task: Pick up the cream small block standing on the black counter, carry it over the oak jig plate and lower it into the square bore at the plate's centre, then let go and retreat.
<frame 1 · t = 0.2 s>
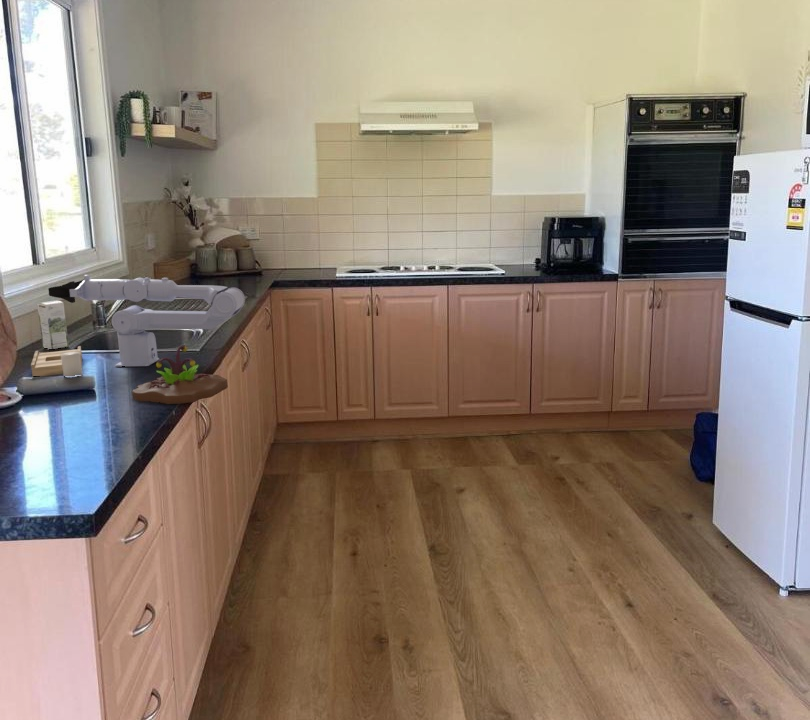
hand: (56, 290, 210), 21 cm above the worktop, tool horizontal, fingers open, 7 cm apart
jig plate: (58, 366, 213), on the worktop
cream small block: (73, 376, 202), on the worktop
plant: (182, 393, 182), on the worktop
syrup box: (56, 348, 240), on the worktop
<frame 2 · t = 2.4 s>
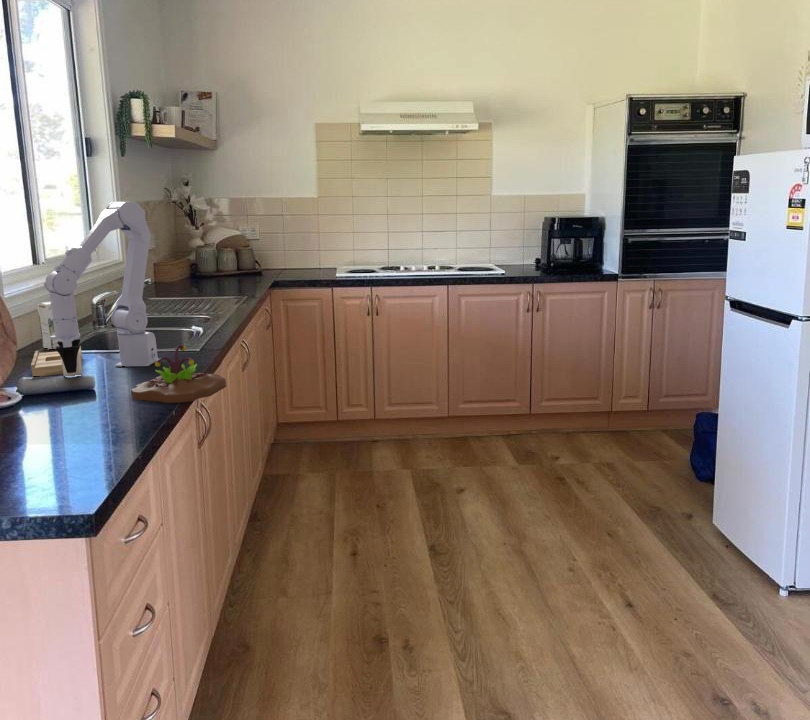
hand: (71, 369, 201), 2 cm above the worktop, tool pointing down, fingers open, 7 cm apart
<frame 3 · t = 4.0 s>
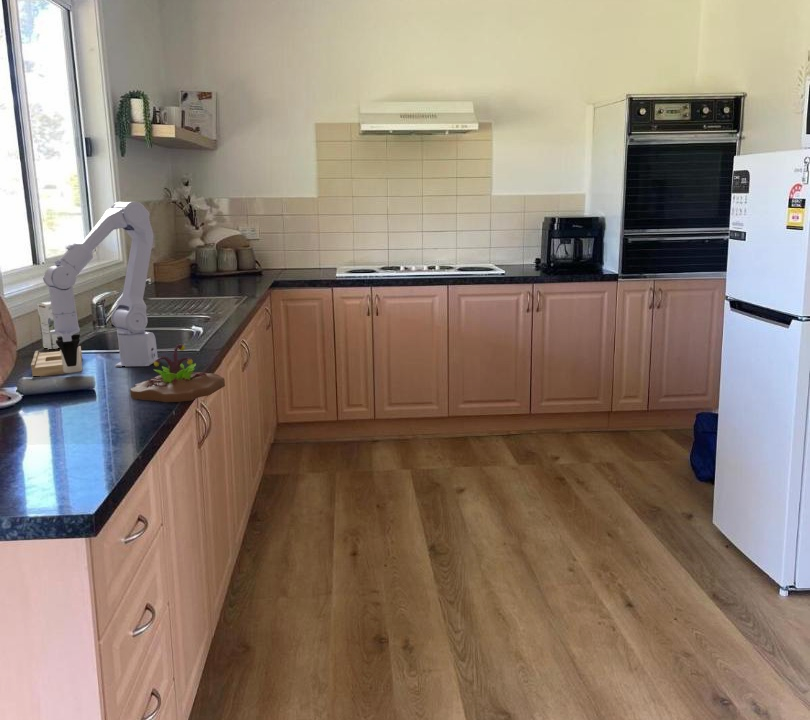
hand: (72, 363, 201), 3 cm above the worktop, tool pointing down, fingers closed on cream small block, 5 cm apart
cream small block: (73, 370, 201), point 1 cm above the worktop, touching gripper
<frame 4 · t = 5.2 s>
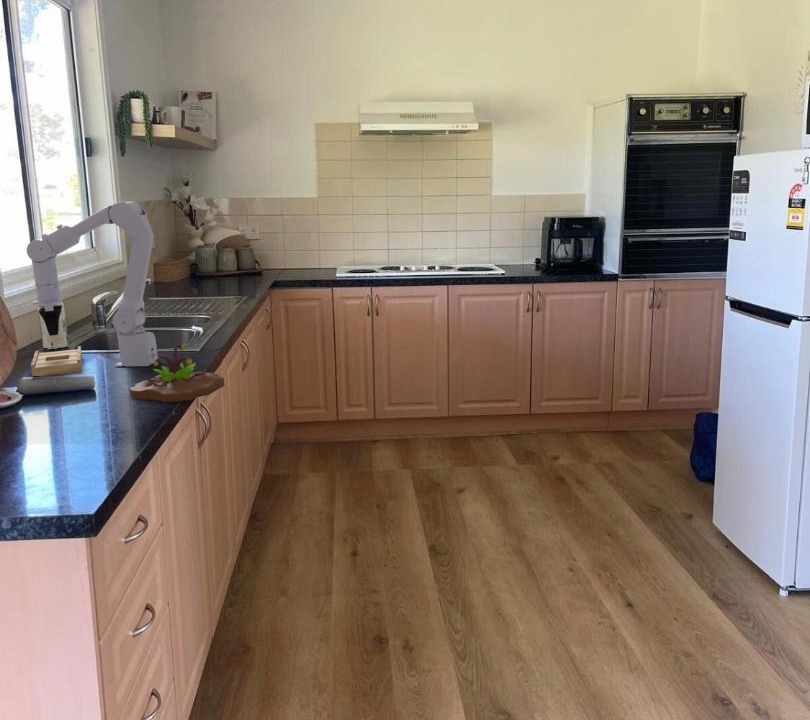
hand: (54, 333, 211), 9 cm above the worktop, tool pointing down, fingers closed on cream small block, 5 cm apart
cream small block: (55, 340, 211), point 8 cm above the worktop, touching gripper
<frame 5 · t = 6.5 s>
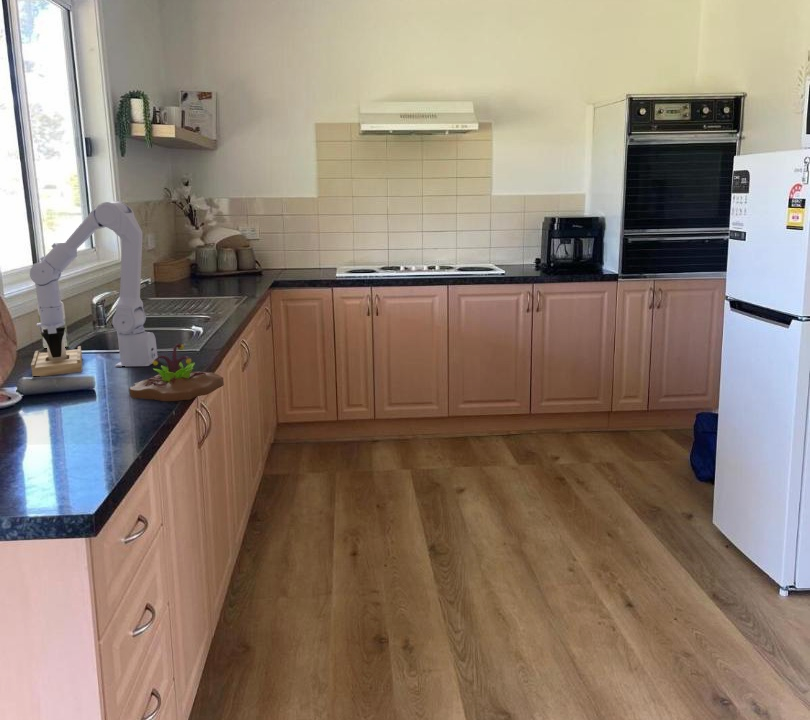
hand: (57, 355, 212), 3 cm above the worktop, tool pointing down, fingers closed on cream small block, 5 cm apart
cream small block: (58, 362, 213), point 1 cm above the worktop, touching gripper
when the fingers open (3 cm above the worktop, at t = 7.4 s): cream small block drops 1 cm, resting on jig plate.
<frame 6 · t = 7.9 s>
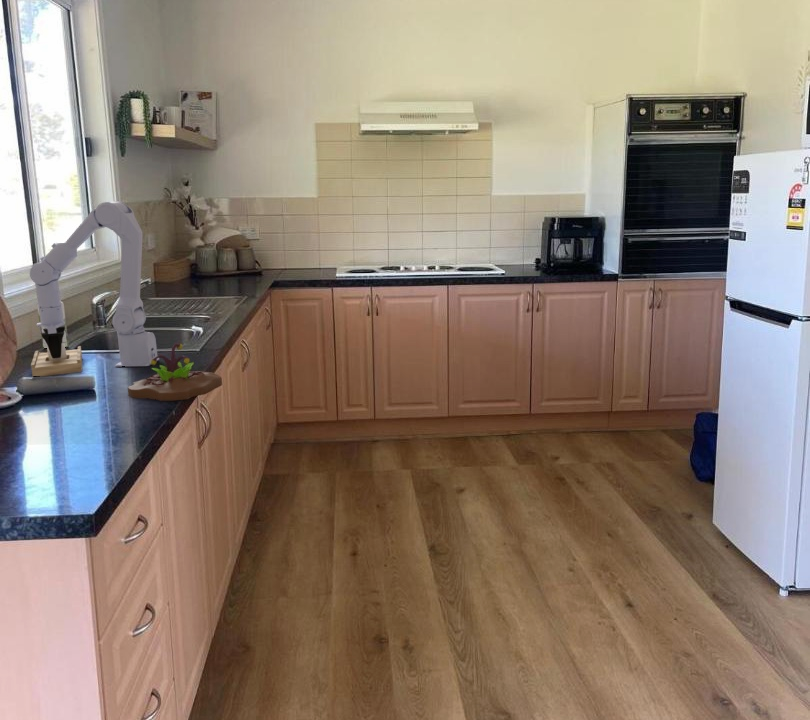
hand: (57, 355, 212), 3 cm above the worktop, tool pointing down, fingers open, 7 cm apart
cream small block: (58, 366, 213), resting on jig plate
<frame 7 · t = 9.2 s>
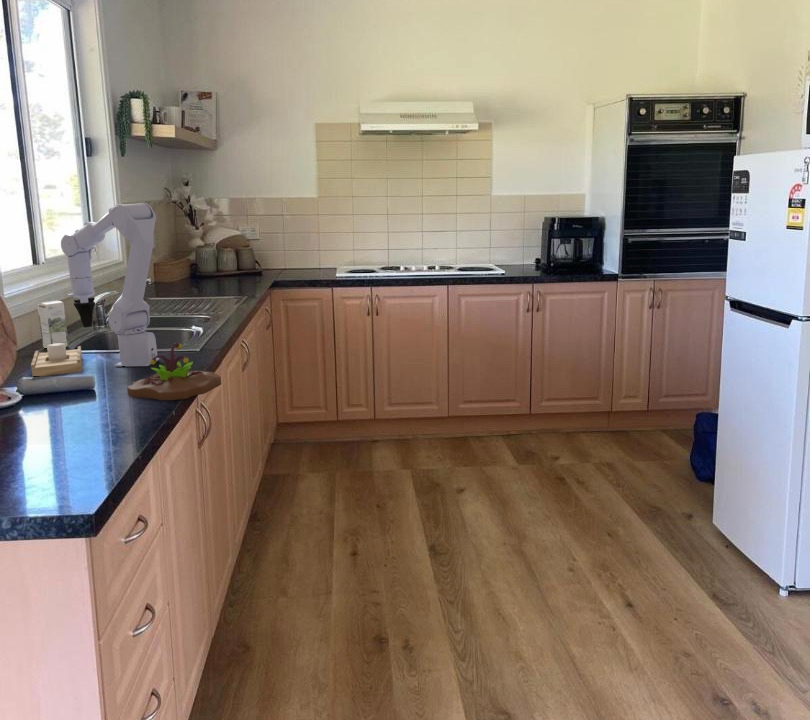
hand: (87, 324, 220), 10 cm above the worktop, tool pointing down, fingers open, 7 cm apart
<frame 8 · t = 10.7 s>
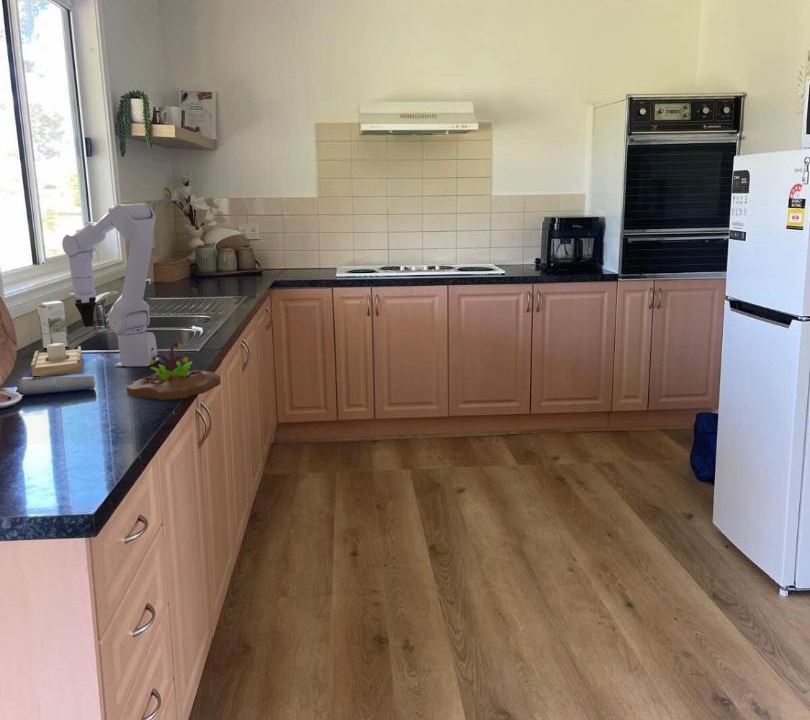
hand: (88, 324, 220), 10 cm above the worktop, tool pointing down, fingers open, 7 cm apart
at the end: cream small block 0.0 cm off-centre on the jig plate, point 0.2 cm above the jig plate's base; cream small block tilted 1°; the gripper is holding nothing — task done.
